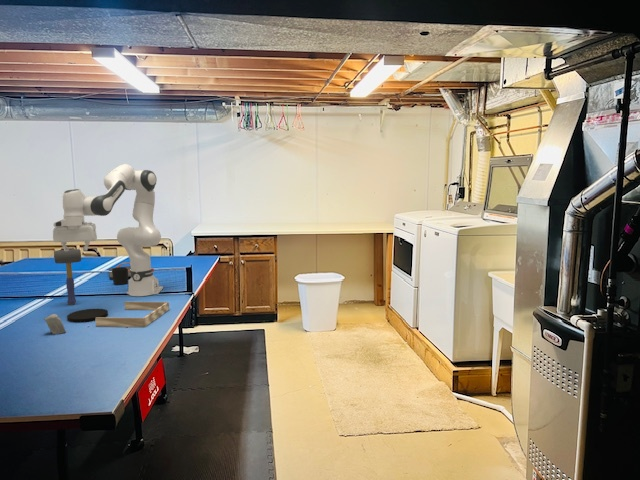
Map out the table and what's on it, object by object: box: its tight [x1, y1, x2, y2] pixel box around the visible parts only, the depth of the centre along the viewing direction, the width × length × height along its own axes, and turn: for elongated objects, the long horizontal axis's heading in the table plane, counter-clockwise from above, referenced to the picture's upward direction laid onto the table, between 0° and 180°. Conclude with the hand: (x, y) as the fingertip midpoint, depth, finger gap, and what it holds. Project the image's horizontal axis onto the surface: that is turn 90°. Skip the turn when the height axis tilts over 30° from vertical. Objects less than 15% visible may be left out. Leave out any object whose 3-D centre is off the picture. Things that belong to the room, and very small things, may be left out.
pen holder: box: [112, 266, 129, 286], centre depth 295 cm, size 9×9×10 cm
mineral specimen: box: [44, 313, 67, 335], centre depth 201 cm, size 7×9×8 cm
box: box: [94, 301, 170, 328], centre depth 222 cm, size 28×23×4 cm
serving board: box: [108, 262, 131, 281], centre depth 326 cm, size 39×23×6 cm, turn 25°
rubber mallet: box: [53, 248, 82, 306], centre depth 245 cm, size 12×8×30 cm, turn 115°
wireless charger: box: [66, 308, 109, 324], centre depth 224 cm, size 18×18×2 cm
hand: (75, 250), depth 224 cm, fingers open, 8 cm apart
